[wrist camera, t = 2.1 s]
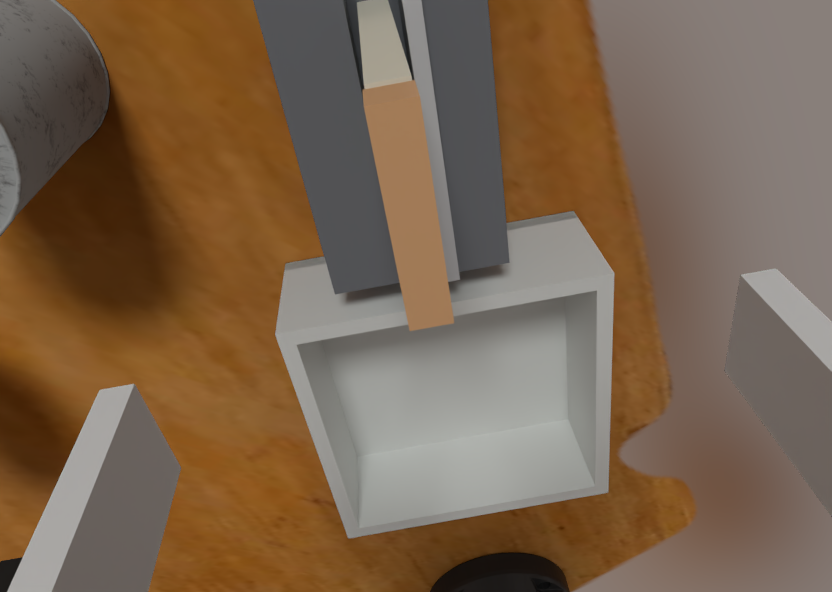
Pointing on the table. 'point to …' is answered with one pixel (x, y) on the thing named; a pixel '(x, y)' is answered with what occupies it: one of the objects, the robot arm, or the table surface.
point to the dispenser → (350, 141)
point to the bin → (459, 384)
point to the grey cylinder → (44, 96)
